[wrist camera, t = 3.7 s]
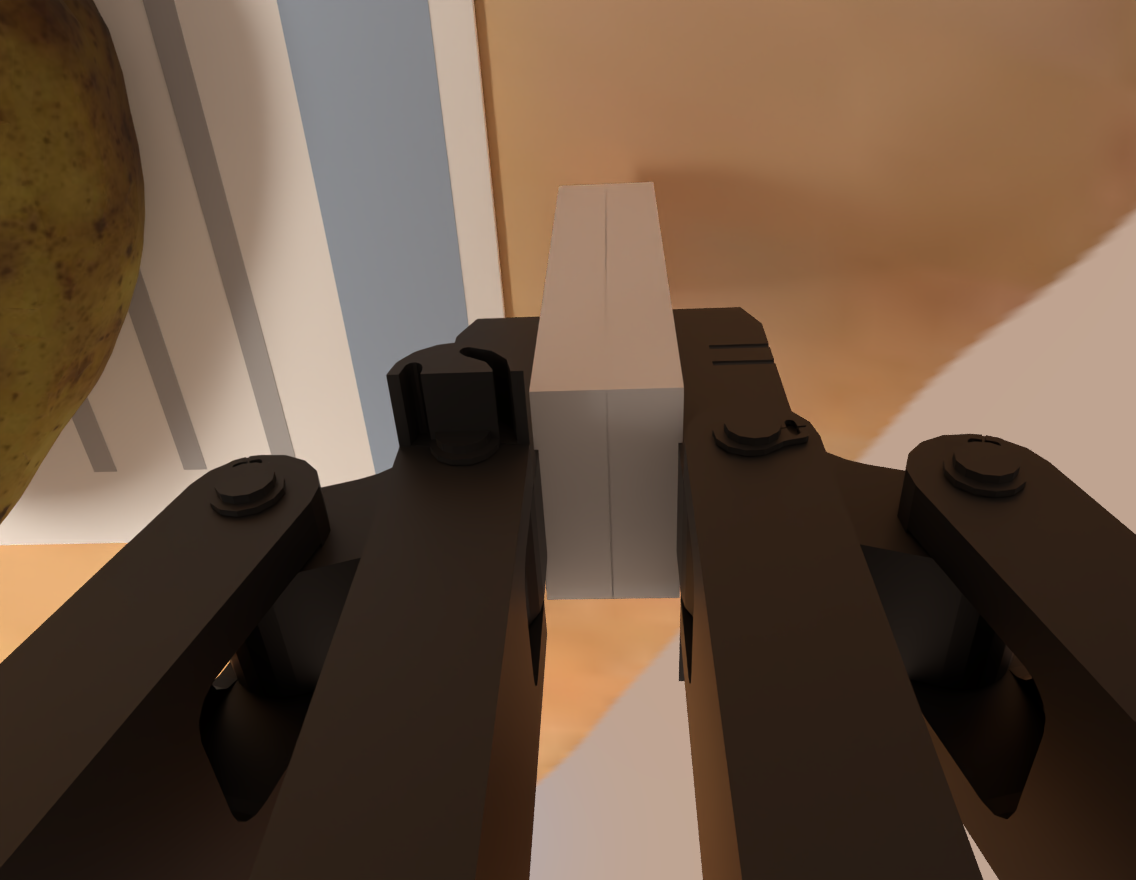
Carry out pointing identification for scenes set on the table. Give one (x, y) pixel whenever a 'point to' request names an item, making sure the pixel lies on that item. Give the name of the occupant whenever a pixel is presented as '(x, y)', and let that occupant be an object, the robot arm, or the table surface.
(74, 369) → the potato
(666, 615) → the table surface
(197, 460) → the letter
